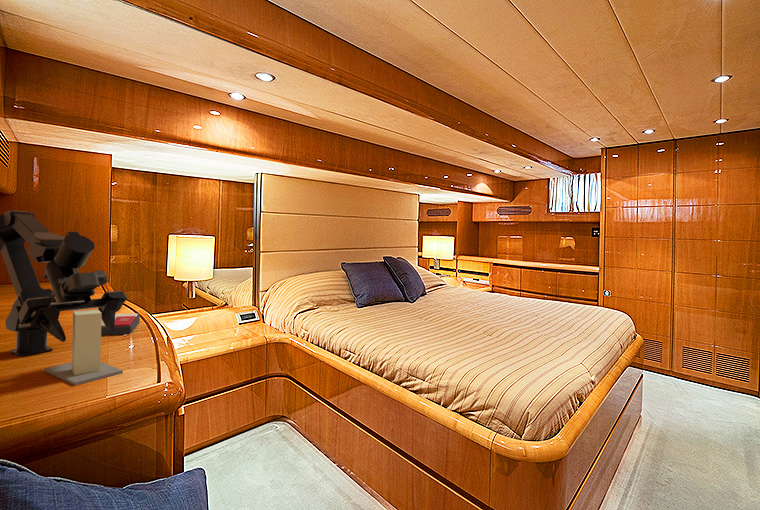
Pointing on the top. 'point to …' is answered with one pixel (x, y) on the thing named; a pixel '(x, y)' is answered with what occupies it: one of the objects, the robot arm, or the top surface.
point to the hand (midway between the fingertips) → (89, 336)
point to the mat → (68, 375)
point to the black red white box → (122, 324)
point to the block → (86, 341)
